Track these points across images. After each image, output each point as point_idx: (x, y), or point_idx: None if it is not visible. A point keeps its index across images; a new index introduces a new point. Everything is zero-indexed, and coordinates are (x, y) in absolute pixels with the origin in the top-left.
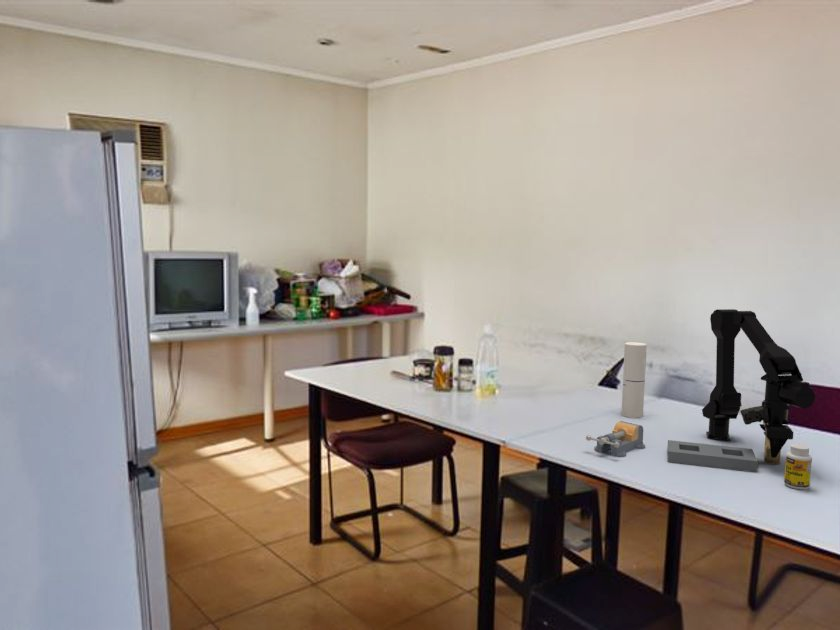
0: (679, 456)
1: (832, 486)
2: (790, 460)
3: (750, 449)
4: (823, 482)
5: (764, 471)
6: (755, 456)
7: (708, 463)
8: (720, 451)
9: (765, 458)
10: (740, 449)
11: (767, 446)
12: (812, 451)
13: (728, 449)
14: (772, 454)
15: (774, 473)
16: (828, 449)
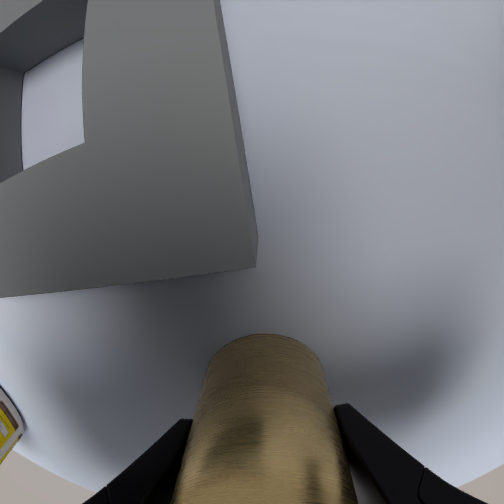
0: None
1: (85, 487)
2: None
3: (207, 245)
4: (99, 485)
5: (36, 321)
6: (2, 297)
7: None
8: (16, 12)
9: (222, 364)
10: (132, 114)
11: (187, 468)
12: (488, 451)
13: (87, 15)
14: (166, 440)
15: (46, 365)
16: (498, 463)
